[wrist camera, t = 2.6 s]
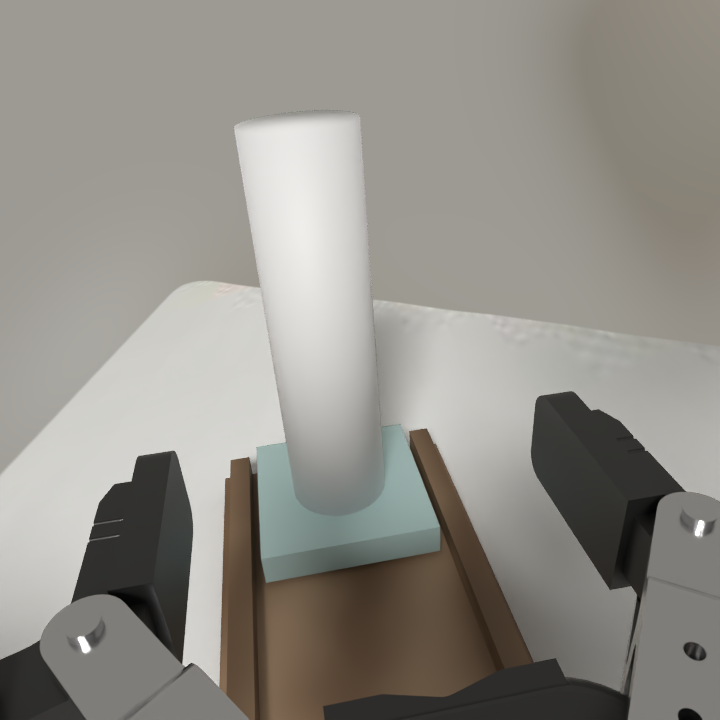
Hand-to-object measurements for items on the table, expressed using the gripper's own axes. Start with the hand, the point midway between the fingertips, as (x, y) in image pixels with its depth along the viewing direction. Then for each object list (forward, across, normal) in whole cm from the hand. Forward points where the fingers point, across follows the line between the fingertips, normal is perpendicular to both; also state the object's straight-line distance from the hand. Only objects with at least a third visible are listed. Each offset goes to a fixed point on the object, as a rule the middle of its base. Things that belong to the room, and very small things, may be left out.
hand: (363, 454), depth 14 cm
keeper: (+13, 0, +13) cm, 19 cm away
